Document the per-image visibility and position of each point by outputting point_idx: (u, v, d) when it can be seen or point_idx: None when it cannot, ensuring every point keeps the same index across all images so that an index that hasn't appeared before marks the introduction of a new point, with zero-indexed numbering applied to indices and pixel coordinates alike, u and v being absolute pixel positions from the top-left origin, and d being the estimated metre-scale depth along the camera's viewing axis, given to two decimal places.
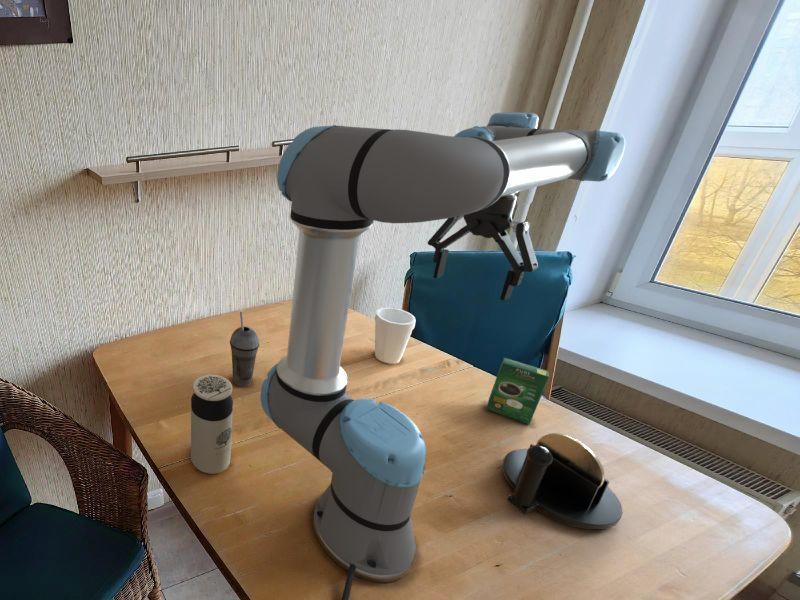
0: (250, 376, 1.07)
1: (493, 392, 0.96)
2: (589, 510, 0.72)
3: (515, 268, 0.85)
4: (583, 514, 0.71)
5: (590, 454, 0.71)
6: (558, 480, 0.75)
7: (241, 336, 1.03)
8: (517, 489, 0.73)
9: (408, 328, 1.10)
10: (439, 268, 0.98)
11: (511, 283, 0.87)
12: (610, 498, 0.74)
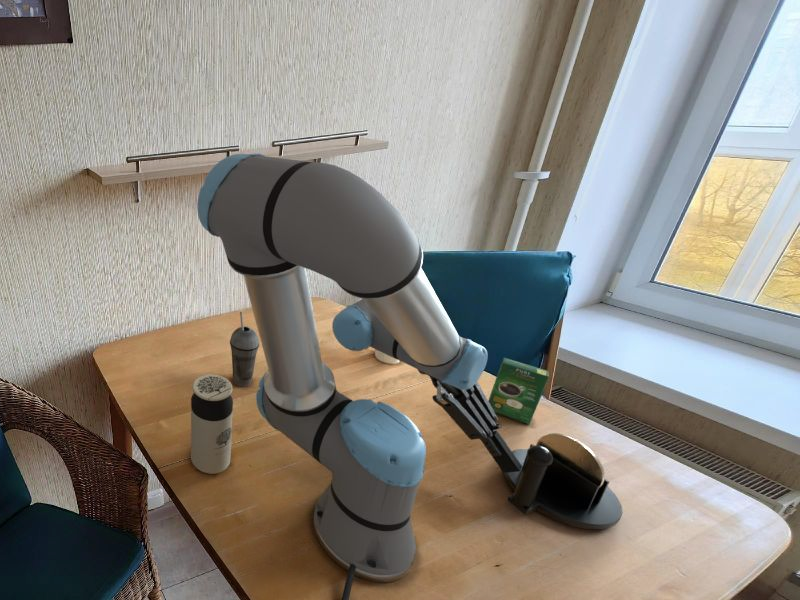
0: (250, 376, 1.07)
1: (493, 392, 0.96)
2: (589, 510, 0.72)
3: None
4: (583, 514, 0.71)
5: (590, 454, 0.71)
6: (558, 480, 0.75)
7: (241, 336, 1.03)
8: (517, 489, 0.73)
9: None
10: None
11: None
12: (610, 498, 0.74)
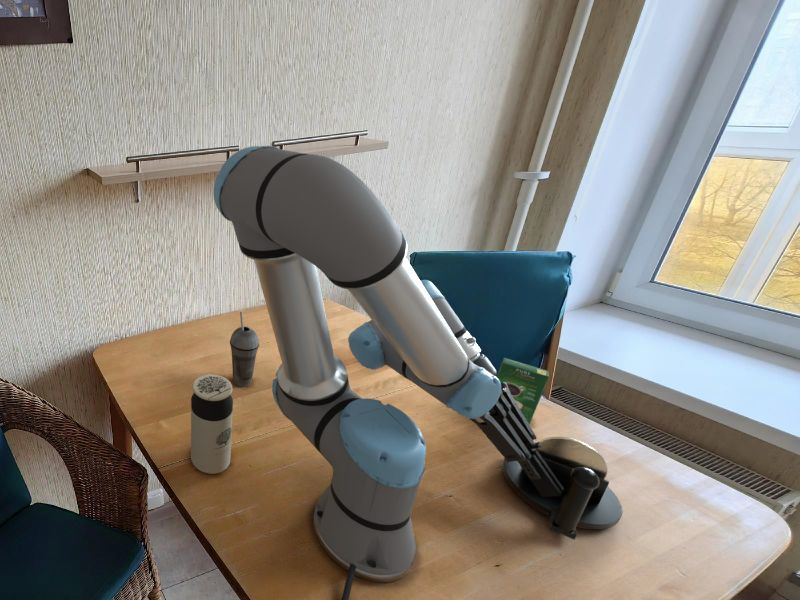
0: (250, 376, 1.07)
1: None
2: (600, 504, 0.73)
3: None
4: (602, 512, 0.71)
5: (593, 451, 0.72)
6: (565, 483, 0.75)
7: (241, 336, 1.03)
8: (563, 516, 0.68)
9: None
10: None
11: None
12: None
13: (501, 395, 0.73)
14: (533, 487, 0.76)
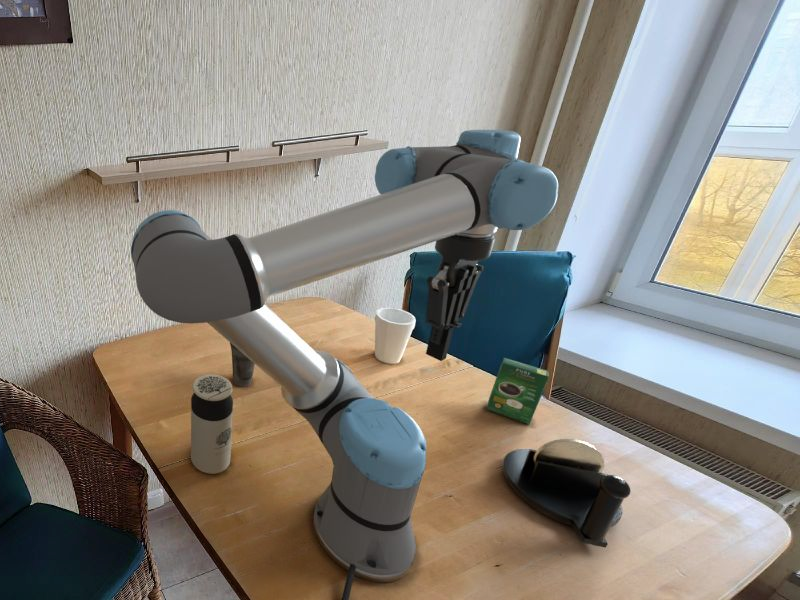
0: (250, 376, 1.07)
1: (493, 392, 0.96)
2: None
3: None
4: None
5: (592, 448, 0.73)
6: (569, 484, 0.75)
7: None
8: (595, 528, 0.66)
9: (408, 328, 1.10)
10: (432, 342, 0.76)
11: None
12: None
13: (471, 276, 0.70)
14: (545, 495, 0.74)
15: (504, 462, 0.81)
